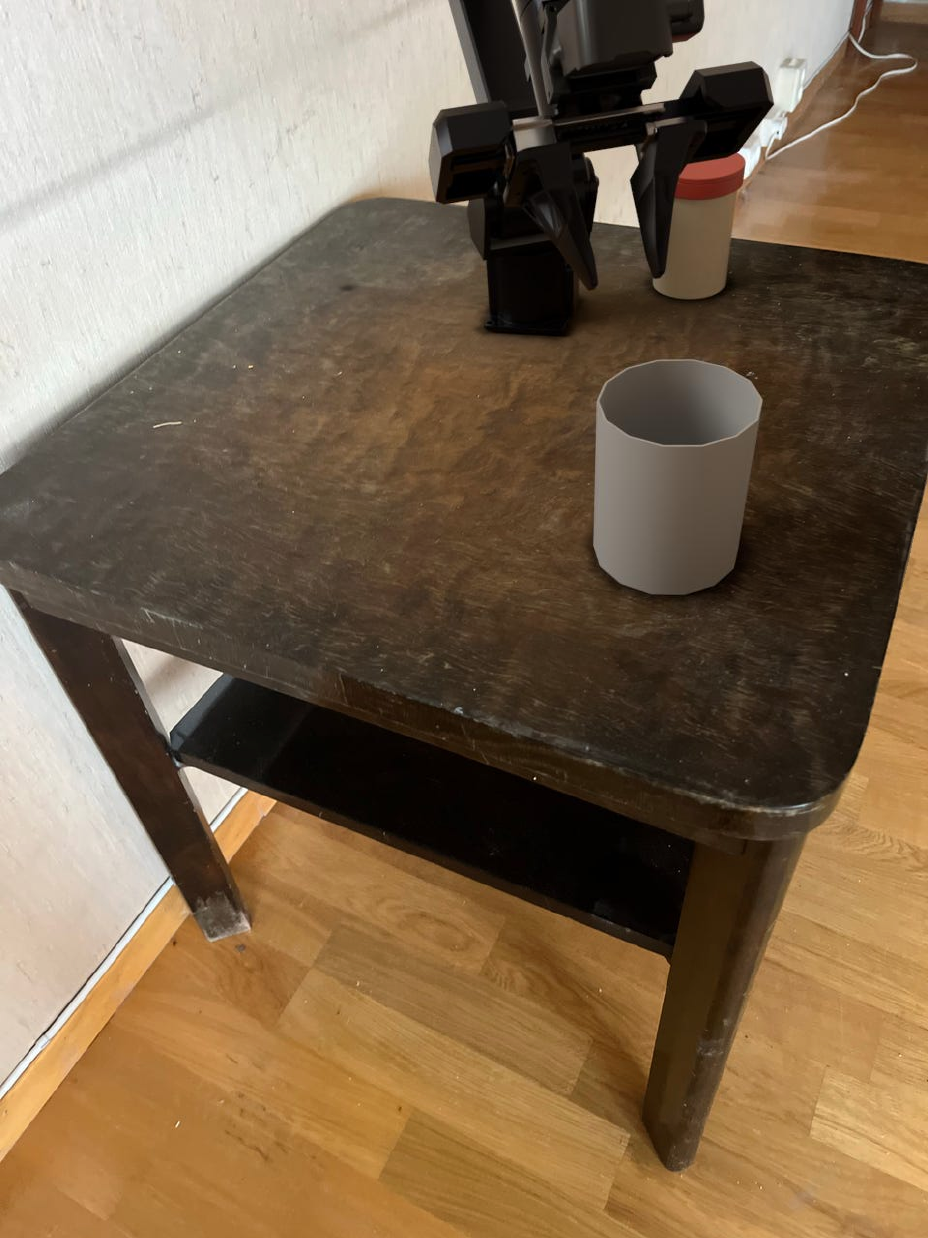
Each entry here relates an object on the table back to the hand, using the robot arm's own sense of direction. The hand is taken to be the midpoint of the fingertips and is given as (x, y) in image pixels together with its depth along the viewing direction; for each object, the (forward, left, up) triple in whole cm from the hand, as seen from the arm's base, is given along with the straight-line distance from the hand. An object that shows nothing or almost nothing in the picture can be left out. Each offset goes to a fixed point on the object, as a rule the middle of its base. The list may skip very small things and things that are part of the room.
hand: (626, 281), depth 53 cm
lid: (+2, +26, -3) cm, 27 cm away
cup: (+4, -8, -13) cm, 15 cm away
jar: (+2, +26, -13) cm, 29 cm away
